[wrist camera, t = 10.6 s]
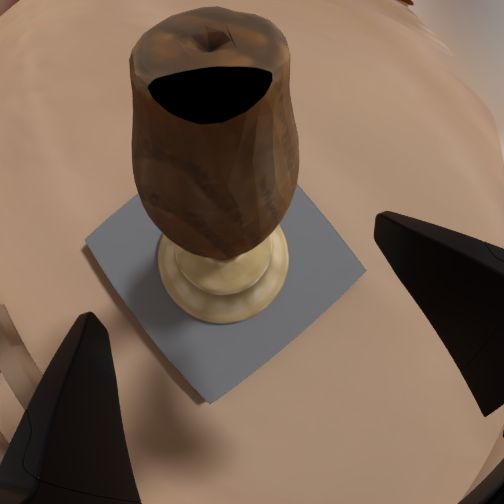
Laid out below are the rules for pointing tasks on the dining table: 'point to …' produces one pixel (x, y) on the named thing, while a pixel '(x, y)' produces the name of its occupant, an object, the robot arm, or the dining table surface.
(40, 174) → the dining table surface
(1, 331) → the walnut well board
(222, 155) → the hand bell
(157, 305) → the grey rubber mat
